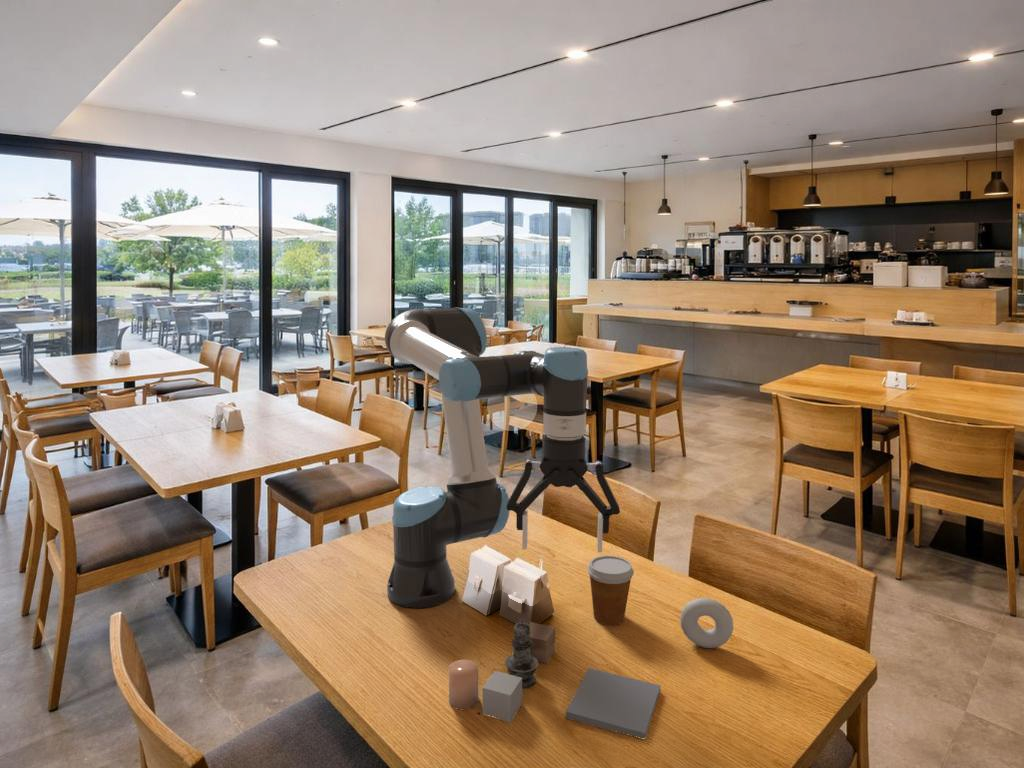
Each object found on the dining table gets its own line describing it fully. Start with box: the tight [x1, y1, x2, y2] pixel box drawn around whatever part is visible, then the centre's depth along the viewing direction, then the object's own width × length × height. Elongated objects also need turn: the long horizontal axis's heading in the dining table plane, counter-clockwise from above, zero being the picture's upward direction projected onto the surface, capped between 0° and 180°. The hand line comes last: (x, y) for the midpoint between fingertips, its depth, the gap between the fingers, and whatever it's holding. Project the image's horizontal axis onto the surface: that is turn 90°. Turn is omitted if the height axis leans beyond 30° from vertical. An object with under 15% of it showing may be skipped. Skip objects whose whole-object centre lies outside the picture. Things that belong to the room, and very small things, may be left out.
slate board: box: [565, 667, 661, 739], centre depth 112 cm, size 13×13×1 cm
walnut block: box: [528, 621, 556, 666], centre depth 126 cm, size 5×5×5 cm
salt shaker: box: [504, 618, 539, 690], centre depth 118 cm, size 6×6×12 cm
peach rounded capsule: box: [448, 659, 479, 710], centre depth 113 cm, size 5×5×6 cm
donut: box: [679, 597, 735, 649], centre depth 129 cm, size 10×4×10 cm, turn 70°
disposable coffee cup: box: [587, 555, 634, 626], centre depth 139 cm, size 10×10×12 cm
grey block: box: [482, 670, 523, 723], centre depth 111 cm, size 5×5×5 cm
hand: (562, 547), depth 121 cm, fingers open, 13 cm apart
